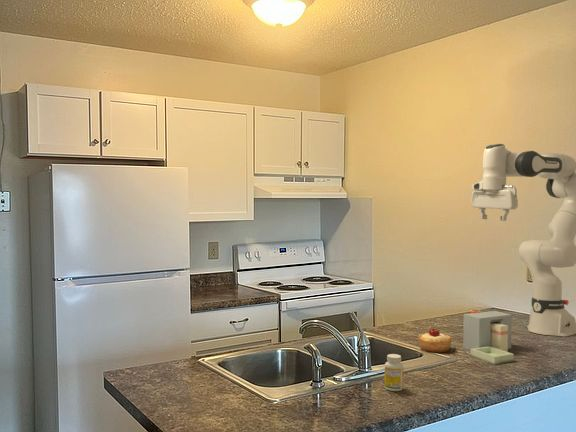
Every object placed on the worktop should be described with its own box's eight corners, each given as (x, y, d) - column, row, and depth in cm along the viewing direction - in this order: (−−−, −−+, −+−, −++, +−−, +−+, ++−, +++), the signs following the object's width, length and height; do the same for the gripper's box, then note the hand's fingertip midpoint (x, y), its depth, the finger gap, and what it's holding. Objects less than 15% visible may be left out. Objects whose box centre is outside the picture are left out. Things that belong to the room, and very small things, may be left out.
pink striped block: (494, 348, 202) (495, 322, 202) (507, 353, 196) (508, 325, 196) (487, 350, 200) (487, 323, 200) (500, 354, 195) (500, 326, 195)
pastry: (418, 345, 208) (417, 322, 208) (450, 346, 206) (449, 323, 206) (419, 353, 196) (418, 328, 196) (453, 354, 194) (452, 329, 194)
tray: (489, 353, 196) (489, 346, 196) (513, 361, 186) (513, 353, 186) (470, 355, 192) (470, 348, 192) (494, 364, 182) (494, 356, 182)
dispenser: (494, 343, 210) (495, 310, 210) (511, 348, 203) (511, 314, 202) (463, 347, 203) (463, 314, 203) (479, 353, 196) (479, 318, 196)
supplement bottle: (395, 392, 154) (396, 359, 154) (380, 388, 158) (381, 355, 158) (406, 388, 158) (407, 356, 157) (391, 384, 162) (392, 352, 161)
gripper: (521, 185, 206) (521, 221, 207) (479, 184, 224) (479, 218, 225) (510, 185, 203) (509, 222, 204) (468, 185, 221) (468, 218, 222)
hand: (493, 220), depth 215 cm, fingers open, 8 cm apart
